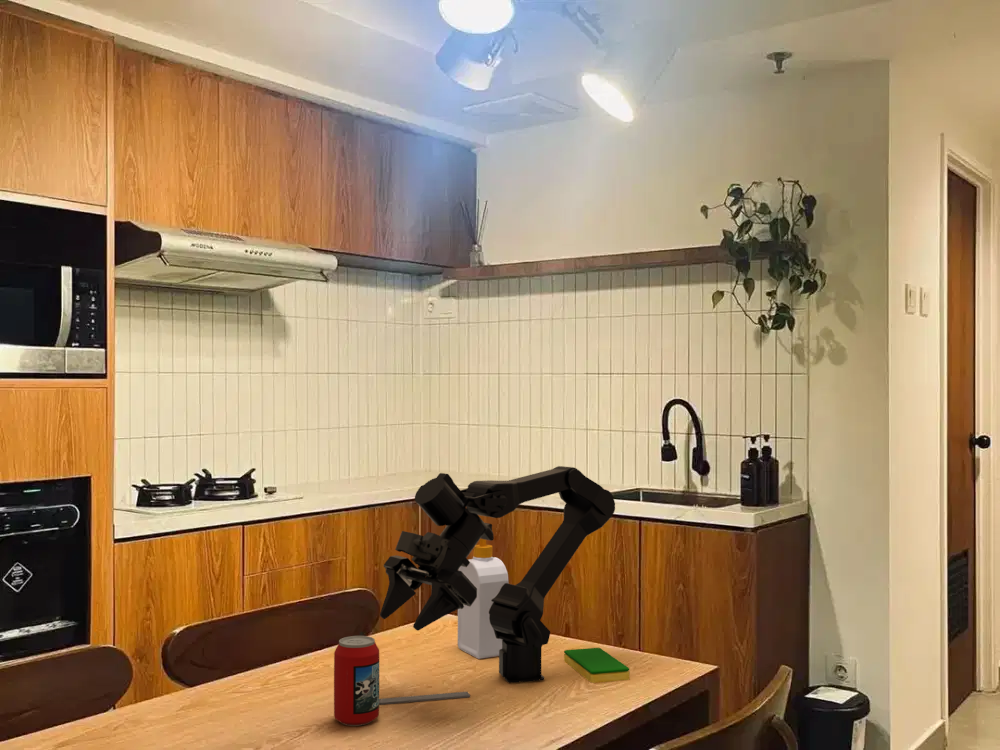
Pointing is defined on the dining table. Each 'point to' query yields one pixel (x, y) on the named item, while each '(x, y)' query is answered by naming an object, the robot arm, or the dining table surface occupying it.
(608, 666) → the dish sponge
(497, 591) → the soap bottle
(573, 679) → the dining table surface
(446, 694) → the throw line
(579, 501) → the robot arm
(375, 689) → the beverage can
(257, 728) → the dining table surface
